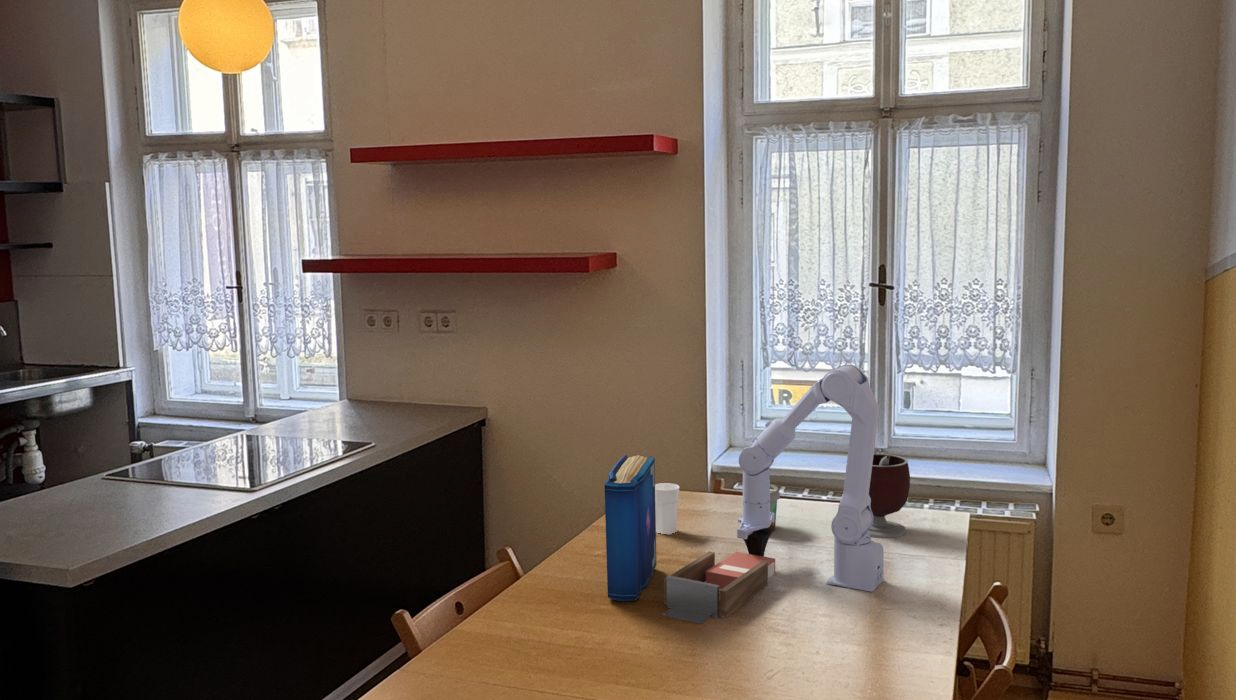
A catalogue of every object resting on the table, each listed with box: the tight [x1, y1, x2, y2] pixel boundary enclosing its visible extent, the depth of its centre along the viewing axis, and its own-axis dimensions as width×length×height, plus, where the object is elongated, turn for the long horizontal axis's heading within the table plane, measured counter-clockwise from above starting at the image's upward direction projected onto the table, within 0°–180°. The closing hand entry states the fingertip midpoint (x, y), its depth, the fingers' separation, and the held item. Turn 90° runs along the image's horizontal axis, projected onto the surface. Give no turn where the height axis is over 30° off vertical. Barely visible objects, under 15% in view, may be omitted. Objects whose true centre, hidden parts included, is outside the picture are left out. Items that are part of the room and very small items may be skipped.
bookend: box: [662, 574, 721, 625], centre depth 186 cm, size 11×5×6 cm, turn 57°
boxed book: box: [705, 551, 776, 590], centre depth 204 cm, size 9×14×4 cm, turn 147°
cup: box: [655, 482, 680, 535], centre depth 237 cm, size 7×7×11 cm
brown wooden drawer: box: [663, 551, 769, 618], centre depth 196 cm, size 13×19×5 cm
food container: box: [767, 483, 781, 533], centre depth 238 cm, size 12×6×10 cm, turn 179°
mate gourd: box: [868, 453, 911, 539], centre depth 234 cm, size 16×14×20 cm
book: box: [604, 454, 657, 602], centre depth 201 cm, size 22×7×25 cm, turn 168°
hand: (756, 562), depth 212 cm, fingers closed
